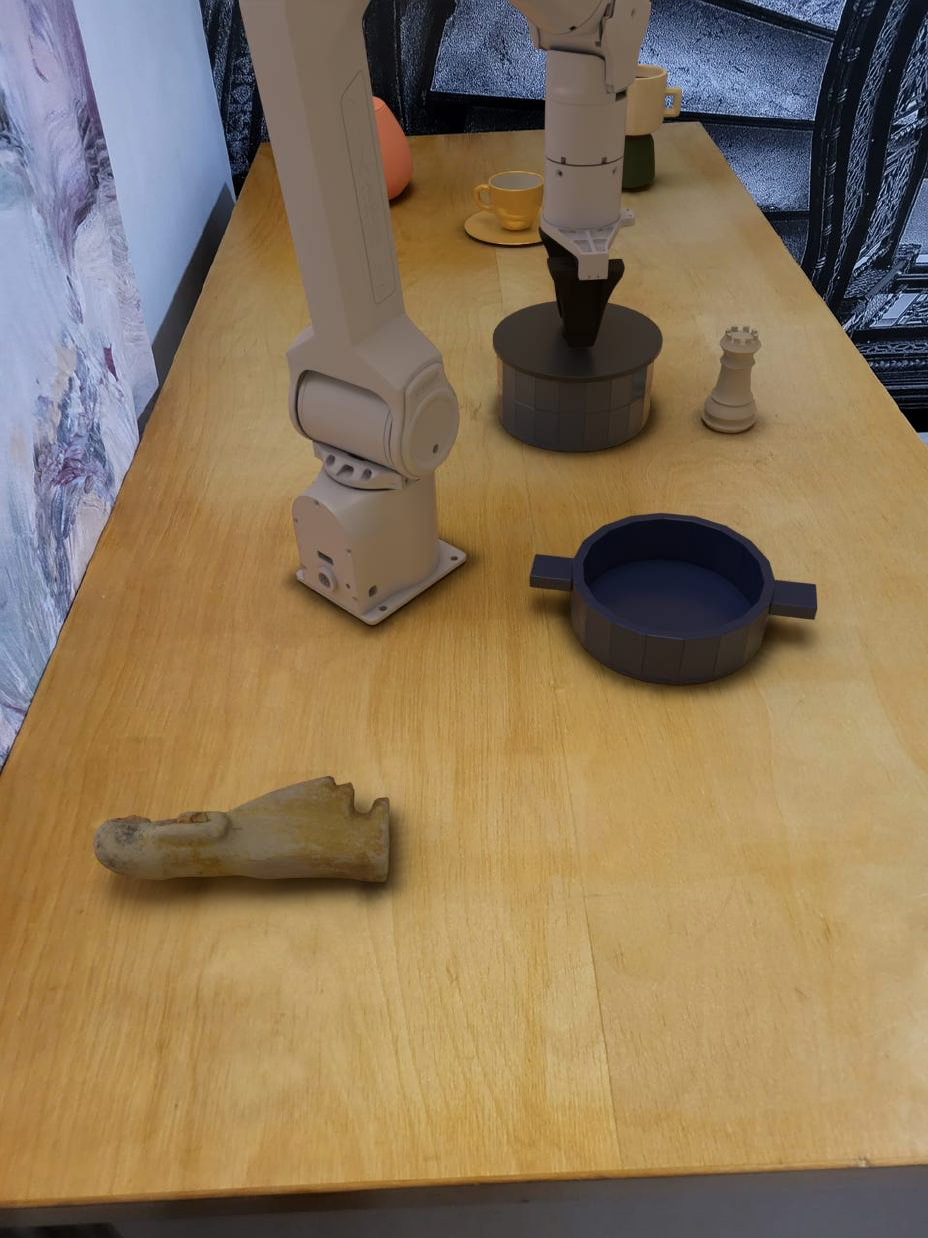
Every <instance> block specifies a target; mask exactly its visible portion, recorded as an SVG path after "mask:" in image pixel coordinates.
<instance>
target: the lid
mask: <svg viewBox="0 0 928 1238" xmlns="http://www.w3.org/2000/svg"><path fill="white" fill-rule="evenodd" d="M663 341H664V337H663V333H662V330H661V329H660V327H659V326H658V324H657V323H655V322H654V321H653V320H652V319H651V318H650V317H649V316H647V315H645V314H644V313H642V312H640V311H638V310H636V309H633V308H630V307H627V306H624V305H622V304H617V303H613V302H608V303H607V305H606V308H605V311H604V314H603V318H602V321H601V325H600V328H599V332H598V335H597V338H596V341H595V343H594V346H590V347H571V348H570V347H568V344H567V341H566V337H565V332H564V326H563V318H561V317H560V314H559V310H558V306H557V301H556V300H553V301H546V302H541V303H536V304H532V305H529V306H526V307H523V308H521V309H518V310H517V311H514V312H512V313H510V314H508V315H507V316H505V317H504V318H503V319H502V320H501V321H500V322H498V324H497V325H496V326H495V328H494V330H493V333H492V348H493V351H494V353H495V355H496V357H497V356H498V357H499V358H500V359H501V361H503V362H504V363H505V364H506V365H508V366H509V367H511V368H513V369H515V370H517V371H519V372H521V373H524V374H526V375H529V376H532V377H536V378H540V379H545V380H550V381H558V382H570V383H589V382H600V381H607V380H613V379H617V378H621V377H624V376H628V375H631V374H633V373H635V372H638V371H640V370H642V369H644V368H645V367H647V366H648V365H650V364H651V363H652V362H653V361H654V362H655V361H656V359H658V357H659V355H660V354H661V352H662V348H663V344H664V343H663Z"/></svg>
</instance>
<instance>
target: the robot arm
mask: <svg viewBox="0 0 928 1238" xmlns="http://www.w3.org/2000/svg"><path fill="white" fill-rule="evenodd" d="M506 1H507V2H508V4H510V5H511V6H513V7H514V8H515V9H516V10H517V11H518V12H519V13H521V14H522V16H524V17H525V19H526V21H527V26H528V31H529V36H530V39H531V42H532V45H533V47H534V48H535V50H536V51H539V50H541V51H543V52H546V54H545V95H544V97H545V98H544V99H545V104H544V149H543V150H544V152H543V153H544V154H543V155H544V156H543V157H544V159H543V177H544V193H543V200H542V203H543V204H542V208H543V212H542V213H541V220H540V227H539V228H538V231H539V235H540V238H541V240H542V241H541V242H542V244H543V246H544V249H545V251H546V253H547V256H548V257H546V266H547V269H548V273H549V274H550V277H551V279H552V281H553V286H554V294H555V301H557V306H558V310H559V314H560V317H561V318H563V326H564V332H565V337H566V341H567V344H568V347H570V348H571V347H590V346H594V343H595V341H596V338H597V335H598V332H599V328H600V325H601V321H602V318H603V314H604V311H605V308H606V305H607V303H609V300H610V297H611V296H612V293H613V292H614V290H615V289H616V287H617V286H618V284H619V282H620V281H621V280H622V278H623V277H624V273H625V269H626V265H625V263H624V261H623V258H610V250H611V248H612V246H613V244H614V242H615V240H616V239H617V236H618V234H619V233H620V231H621V229H622V228H629V227H633V226H635V225H636V213H635V212H634V210H633V209H632V208H627V207H623V208H621V200H622V188H623V187H622V173H623V157H624V145H625V130H626V115H627V101H628V86H629V85H631V84H633V83H634V81H635V76H636V73H637V72H638V64H639V59H640V53H641V48H642V45H643V43H644V40H645V36H646V34H647V31H648V26H649V22H650V19H651V18H650V17H651V11H652V1H650V0H506ZM370 2H371V0H238V4H239V10H240V13H241V18H242V23H243V27H244V31H245V36H246V40H247V45H248V49H249V55H250V58H251V63H252V66H253V71H254V75H255V79H256V85H257V89H258V93H259V98H260V102H261V106H262V111H263V115H264V119H265V124H266V128H267V133H268V136H269V142H270V146H271V151H272V155H273V159H274V164H275V168H276V172H277V177H278V181H279V185H280V189H281V195H282V199H283V203H284V208H285V211H286V216H287V221H288V225H289V229H290V233H291V238H292V242H293V247H294V252H295V255H296V260H297V264H298V269H299V273H300V277H301V281H302V287H303V291H304V295H305V299H306V304H307V309H308V313H309V318H310V320H311V323H309V324H308V325H306V327H305V328H303V330H301V331H300V332H299V333H298V335H296V337H295V338H294V340H293V341H292V342H291V344H290V345H289V346H288V348H287V349H286V351H285V355H286V356H285V357H286V360H287V364H288V369H289V389H288V400H287V403H288V404H287V408H288V414H289V420H290V422H291V424H292V426H293V428H294V429H295V431H296V432H297V434H298V435H300V436H301V437H303V438H305V439H307V440H309V441H312V448H313V454H314V457H315V458H316V459H318V460H319V461H321V462H322V465H321V468H320V470H319V472H318V474H317V475H316V477H315V478H314V480H313V482H312V483H311V484H309V486H308V487H307V488H306V489H305V490H303V491H302V492H301V493H300V494H299V495H297V497H296V498H295V499H294V501H293V502H292V503H293V504H292V508H291V517H292V523H293V524H292V525H293V528H294V535H295V539H296V540H295V541H296V546H297V550H298V551H297V552H298V556H299V563H300V569H299V570H298V571H297V572H296V573H295V575H296V579H297V580H298V581H299V582H301V583H302V584H304V585H306V586H307V587H309V588H310V589H312V590H313V591H315V592H316V593H318V594H320V595H321V596H323V597H324V598H326V599H327V600H329V601H330V602H333V604H335V605H337V606H339V607H340V608H342V609H344V610H345V611H346V612H348V613H350V614H351V615H353V616H355V617H356V618H358V619H360V620H361V621H363V622H364V623H365V624H368V625H370V626H372V625H373V626H374V625H377V624H379V623H381V622H382V621H383V620H385V619H386V618H387V617H389V616H390V615H391V614H393V613H394V612H396V611H397V610H398V609H400V608H401V607H403V606H404V605H406V604H407V603H408V602H410V601H411V600H413V599H414V598H415V597H417V596H418V595H419V594H421V593H422V592H424V591H425V590H427V589H428V588H430V587H431V586H432V585H434V584H435V583H437V582H438V581H439V580H441V579H442V578H444V577H445V576H446V575H448V574H449V573H451V572H452V571H453V570H455V569H456V568H458V567H459V566H460V565H462V564H464V563H465V562H466V561H467V554H466V553H465V552H464V551H462V550H460V549H459V548H457V547H455V546H453V545H451V544H450V543H447V542H445V541H444V540H442V539H440V535H439V534H440V533H439V519H438V505H437V504H438V503H437V502H438V501H437V489H436V487H437V485H436V472H435V471H436V470H437V469H438V468H440V466H441V465H442V464H443V463H444V462H445V460H446V459H447V458H448V456H449V455H450V453H451V451H452V449H453V447H454V445H455V442H456V439H457V436H458V432H459V427H460V416H461V415H460V407H459V399H458V396H457V393H456V390H455V389H454V387H453V386H452V384H451V383H450V381H449V380H448V377H447V375H446V372H445V366H444V359H443V354H442V352H441V351H440V350H439V348H437V346H436V345H435V344H434V343H433V342H432V341H431V339H430V338H429V337H428V336H426V335H425V333H424V332H423V331H422V330H421V329H420V328H419V327H418V326H417V325H416V324H415V323H414V321H413V320H412V319H411V318H410V317H409V316H408V315H407V312H406V307H405V302H404V301H405V300H404V294H403V288H402V281H401V274H400V267H399V261H398V255H397V249H396V241H395V234H394V229H393V221H392V215H391V208H390V202H389V201H390V200H388V194H387V188H386V181H385V175H384V168H383V161H382V155H381V148H380V141H379V135H378V128H377V122H376V115H375V108H374V102H373V96H374V95H373V90H372V83H371V76H370V75H371V74H370V70H369V63H368V57H367V56H368V55H367V49H366V42H365V36H364V30H363V17H364V14H365V12H366V10H367V8H368V6H369V4H370Z"/></svg>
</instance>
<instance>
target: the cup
mask: <svg viewBox="0 0 928 1238" xmlns="http://www.w3.org/2000/svg"><path fill="white" fill-rule="evenodd" d="M481 192H486V193H488V194H489V199H490V204H489V203H486V202H484V201H483V200H482V198H481ZM472 197H473V201H474V203H475V206H476V207H477V208H478V209H480V210H481V211H478V212H476V213H474V214H472V215H470V217H468V218H467V219H466V220H465V222H464V227H463V228H464V230H465V232H467V234H469V236H471V237H473V238H475V239H478V240H480V241H483V242H487V243H493V244H501V245H525V244H533V243H539V242H542V240H541V238H540V235H539V231H538V228H539V227H540V220H541V213H542V212H543V207H542V205H543V204H542V203H543V198H544V175H541V174H539V173H537V172H533V171H527V170H526V171H525V170H511V171H510V170H509V171H504V172H500V173H496V174H494V175H492V176H491V177H489V178H488V180H487V183H482V184H479V185H477V186H476V187H475V189H474V190H473V196H472Z"/></svg>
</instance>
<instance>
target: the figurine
mask: <svg viewBox="0 0 928 1238" xmlns="http://www.w3.org/2000/svg"><path fill="white" fill-rule="evenodd" d="M355 792H356V791H355V788H354V784H353V783H352V781H350V782H345V783H342V784H337V782H336V781H335V777H334V776H332V775H326V776H322V777H317V778H314V779H309V780H305V781H301V782H296V783H294V784H290V785H288V786H283V787H281V788H277V789H275V790H272V791H270V792H268V793H264V794H262V795H260V796H258V797H255V798H253V799H251V800H249V801H247V802H244V803H242V804H239V806H236V807H234V808H232V809H230V810H229V811H217V810H207V811H200V810H199V811H198V810H197V811H195V810H194V811H192V810H191V811H185V812H180V814H179V815H178V816H177V818H167V819H162V820H155V821H151V819H150V818H148V817H144V816H140V815H136V814H132V815H128V816H126V817H114V818H111V819H107V820H105V821H104V822H102V823H101V824H100V825H99V827H97V829H96V832H95V834H94V837H93V843H92V846H93V851H94V855H95V857H96V860H97V861H98V862H99V863H100V864H101V865H102V866H103V867H104V868H105V869H107V870H109V871H111V872H113V873H115V874H118V875H120V876H123V877H126V878H127V877H128V878H131V879H138V880H141V879H142V880H154V881H155V880H156V881H157V880H161V881H162V880H163V881H164V880H169V879H171V878H172V879H173V878H184V877H189V878H190V877H195V878H209V877H227V876H228V877H229V876H230V877H231V876H245V877H249V878H254V879H260V880H276V879H277V880H278V879H297V878H299V879H301V878H302V879H303V878H309V879H310V878H333V879H334V878H335V879H345V880H346V879H347V880H355V881H356V880H357V881H363V882H372V883H373V882H374V883H383V882H385V881H386V880H387V878H388V873H389V863H390V849H391V848H390V809H391V806H390V805H391V804H390V803H391V802H390V798H389V797H387V796H384V797H377V798H376V799H375V800H373V803H372V805H371V808H370V810H368V811H366V812H359V811H358V810H357V809H356V808H355V796H356V795H355Z"/></svg>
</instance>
